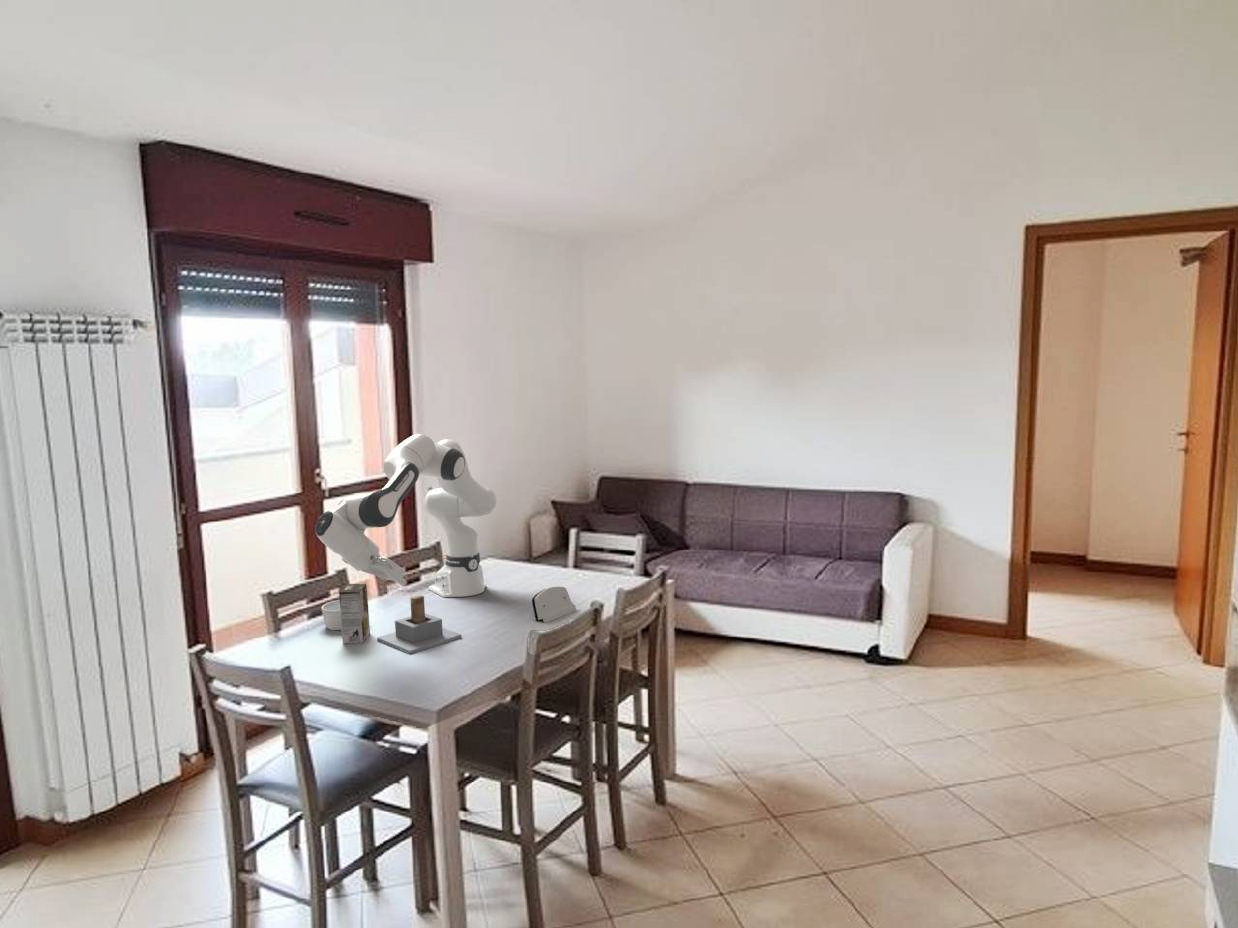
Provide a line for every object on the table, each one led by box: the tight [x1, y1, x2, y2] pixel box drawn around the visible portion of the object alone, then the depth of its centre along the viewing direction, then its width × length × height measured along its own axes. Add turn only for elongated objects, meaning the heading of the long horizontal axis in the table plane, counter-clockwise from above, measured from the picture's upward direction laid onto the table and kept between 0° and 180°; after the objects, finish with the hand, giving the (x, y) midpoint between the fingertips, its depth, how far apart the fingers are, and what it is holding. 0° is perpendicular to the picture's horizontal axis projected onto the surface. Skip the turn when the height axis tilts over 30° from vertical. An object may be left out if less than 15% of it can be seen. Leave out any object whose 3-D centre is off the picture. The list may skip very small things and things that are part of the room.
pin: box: [409, 595, 426, 624], centre depth 238 cm, size 4×4×12 cm
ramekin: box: [321, 599, 342, 631], centre depth 254 cm, size 13×13×7 cm
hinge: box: [529, 586, 577, 624], centre depth 260 cm, size 17×5×10 cm, turn 144°
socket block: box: [376, 613, 463, 654], centre depth 239 cm, size 18×18×6 cm
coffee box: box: [338, 583, 371, 645], centre depth 240 cm, size 9×6×16 cm
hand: (395, 581), depth 231 cm, fingers open, 8 cm apart
